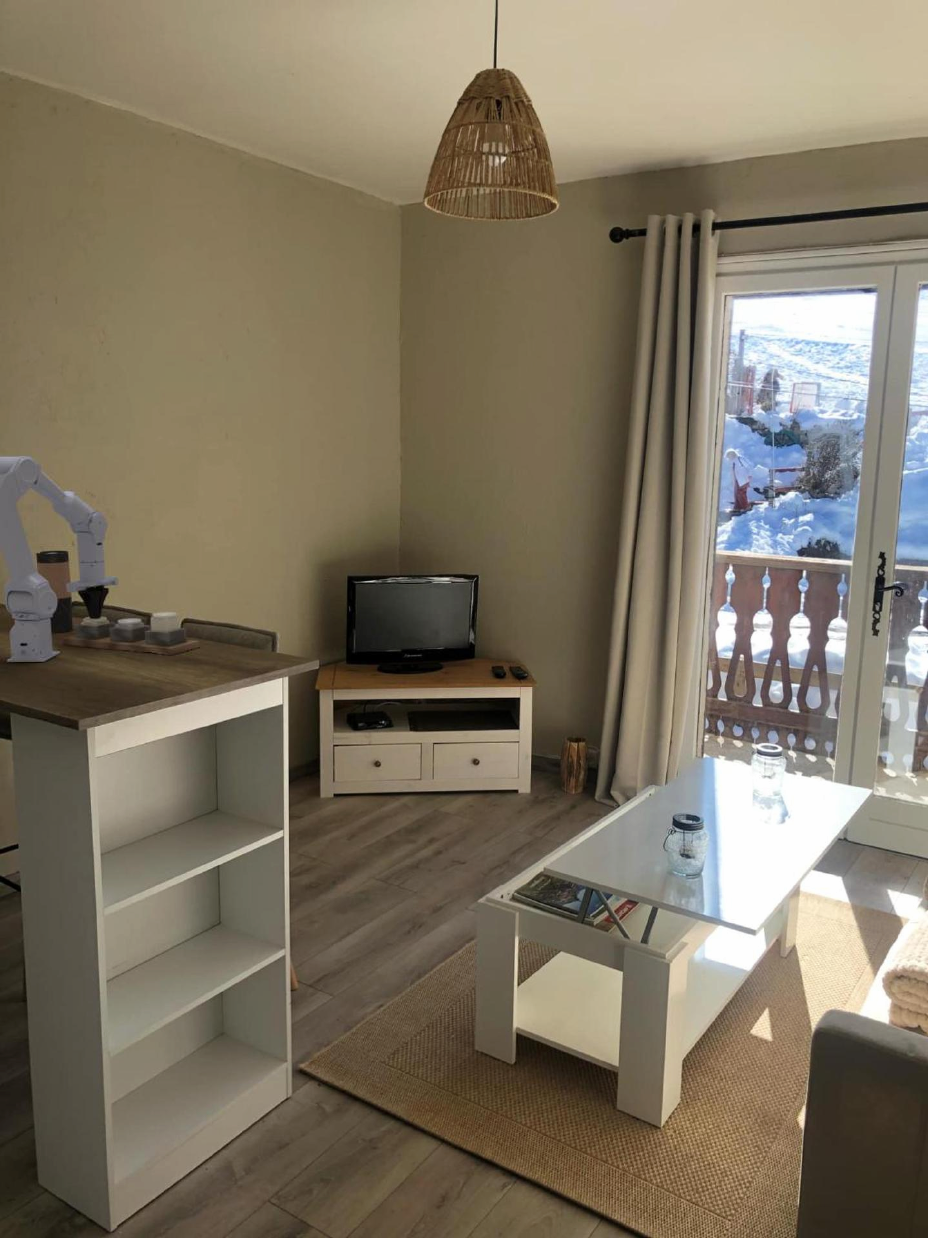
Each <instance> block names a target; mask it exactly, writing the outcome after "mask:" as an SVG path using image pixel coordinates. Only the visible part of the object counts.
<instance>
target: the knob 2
mask: <svg viewBox="0 0 928 1238" xmlns="http://www.w3.org/2000/svg"><path fill="white" fill-rule="evenodd" d="M144 625H145V624H144V622H142V619H141V618H131V617H130V618H122V619H118V620H117V623H116V628H120V629H135V628H139V627H144Z"/></svg>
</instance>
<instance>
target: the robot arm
mask: <svg viewBox="0 0 928 1238" xmlns="http://www.w3.org/2000/svg"><path fill="white" fill-rule="evenodd" d="M30 489H32V490H33V491H34V492H37V494H39V495H41V496H42V497H43V498H45V499H46V500H47V501H49V502H50V503H52V504H51V505H52V509H53V511H54V512H55V513H56V514H58V516H60V517H61V518H62V519H64V520H65V521H66V522H67V523H68V525H69V526H70V527H69V528H70V530H71V531H72V533H74V534H76V542H77V544H76V545H77V558H78V570H79V571H78V572H79V575H78V576H79V579H78V580H76V581H72V582H71V583H68V584H66V587H67V592H71V593H76V592H77V594H78V596H80V598H81V599H82V601H83V603H84V605H85V608H86V611H87V614H88V617H90V619H99V618H100V617H102V611H103V606H104V603H105V600H106V598H107V596H108V594H109V592H110V588H109V587H110V586H119V577H118V576H106V567H105V550H104V548H105V547H104V543H105V540H106V532H107V530H108V526H109V522H108V521H107V518H106V516H105V515H104V514H103V513H102V512H101V511H99V510H93V508H92V507H91V506H90V504H88V503H86V502H84V501H83V500H82V499H81V498H80V497H78V493H77V492H75V491H70V490H65V491H63V489H61V488H60V486H58V485H57V484H56V483H55V482H54V481H53V480H52V479H51V478H50V477H49V476H48V475H47V474H45V472H44V471H43V470H42V467H41V464H40V463H38V462H36V461H35V460H34V459H33V457H31V456H28V455H23V456H0V550H1V553H2V556H3V560H4V563H5V567H6V569H7V573H8V575H9V580H7V582H6V583H5V584H4V585H3V590H4V591H3V592H4V596H5V597H4V604H5V608H6V610H7V611H8V612H9V613H10V614H11V617H12V619H14V624H13V626H12V627H11V629H10V630H9V645H10V646H9V647H10V658H8V659H6V662H7V663H21V662H22V663H25V662H26V663H27V662H29V663H31V662H32V663H35V662H36V663H38V662H42V663H44V662H46V661H47V660H50V659H52V658H54V657H56V656H57V655H59V654H60V653H61V651H60V650H59V651H58V650H57V651H55V650H54V651H53V639H52V633H51V621H50V617H53V613H54V612H55V610H56V608H57V596H56V594H55V592H54V591H53V590H52V589H51V587H50V585H49V582H48V581H47V580H46V579H45V578H44V577H42V576H41V575H40V574H39V573H37V566H36V564H35V561H34V558H33V555H32V552H31V548H30V545H29V542H28V539H27V535H26V532H25V529H24V526H23V523H22V520H21V515H20V513H19V510H18V506H17V503H18V502H19V500H20V499H22V498H23V496H24V495H25V494H27V492H28V491H29V490H30Z"/></svg>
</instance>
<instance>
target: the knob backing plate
mask: <svg viewBox="0 0 928 1238" xmlns="http://www.w3.org/2000/svg"><path fill="white" fill-rule="evenodd" d="M116 624H117V623H116V622H110V621H109V624H104V625H99V626H87V625H81V623H79V624H75V625H74V628H75V629H74V630H75V635H71V636H67V637H62V644H63V645H66V646H75V647H76V646H77V647H85V648H95V649H106V650H112V651H113V650H115V651H123V650H130V651H129V652H133V651H137V652H136V653H143V652H152V653H157V654H156V655H162V654H165V655H164V656H174V655H177V654H181V652H182V653H185V652H188V651H187V650H189V651H192V650H191V649H193V650H197V649H199V648H198V647H200V648H201V642H200V640H193V639H191V640H190V639H187V628H181V627H180V630H176V631H172V632H168V633H164V632H153V631H151V625H147V624H144V627H139V628H135V629H120V628H116ZM152 653H151V654H152Z"/></svg>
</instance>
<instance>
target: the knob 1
mask: <svg viewBox="0 0 928 1238" xmlns="http://www.w3.org/2000/svg"><path fill="white" fill-rule="evenodd" d="M109 622H110V620H108V618H107V617H106V616H101V617H100V618H99V619H90V617H89V616H88V617H84V618H83V620H82V621H81V623H80V624H81V625H87V626H99V625H104V624H109Z"/></svg>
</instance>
